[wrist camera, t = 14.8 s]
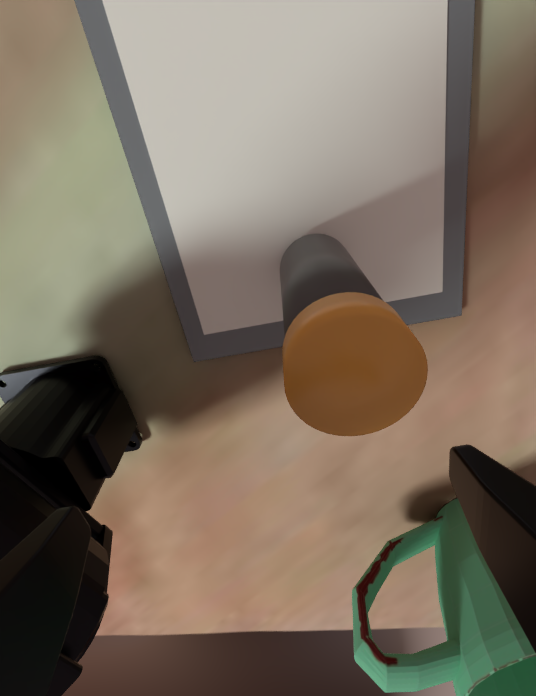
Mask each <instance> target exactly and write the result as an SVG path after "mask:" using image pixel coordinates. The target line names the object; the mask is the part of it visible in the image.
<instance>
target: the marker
mask: <svg viewBox="0 0 536 696" xmlns="http://www.w3.org/2000/svg"><path fill="white" fill-rule="evenodd" d="M280 283H281V296H282V309H283V322H284V335H285V338H284V342H283V350H282V356H283V373H284V387H285V393H286V397H287V400H288V402H289V404H290V406H291V408H292V409H293V411H294V412H295V413H296V415H297V416H298V417H299V418H300V419H301V420H303V421H304V422H305V423H306V424H308V425H309V426H311V427H313V428H315V429H317V430H319V431H322V432H325V433H328V434H333V435H339V436H358V435H365V434H370V433H373V432H376V431H379V430H382V429H384V428H386V427H388V426H390V425H392V424H394V423H395V422H397V421H398V420H400V419H401V418H402V417H403V416H405V415H406V414H407V413H408V412H409V411H410V410H411V409H412V408H413V407H414V405H415V404H416V403H417V401H418V400H419V398H420V396H421V394H422V392H423V390H424V387H425V384H426V380H427V372H428V367H427V359H426V355H425V352H424V350H423V348H422V346H421V344H420V343H419V341H418V340H417V338H416V337H415V336H414V334H413V333H412V332H411V330H410V329H409V328H408V326H407V325H406V324H405V322H404V321H403V320H402V319H401V317H400V316H399V315H398V313H397V312H396V311H395V310H394V309H393V308H392V307H391V306H390V305H388V304H387V303H386V302H384V301H383V299H382V298H381V297H380V295H379V294H378V293H377V291H376V290H375V288H374V287H373V286H372V284H371V283H370V282H369V280H368V279H367V277H366V276H365V275H364V273H363V272H362V271H361V269H360V268H359V266H358V265H357V264H356V262H355V261H354V260H353V258H352V257H351V255H350V254H349V253H348V251H347V250H346V248H345V247H344V246H343V245H342V244H341V243H340V242H339V241H338V240H337V239H335V238H333V237H331V236H329V235H325V234H309V235H305V236H303V237H301V238H299V239H297V240H296V241H294V242H293V243H292V244H291V245H290V246H289V247H288V248H287V249H286V251H285V253H284V254H283V257H282V259H281V263H280Z"/></svg>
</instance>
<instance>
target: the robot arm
mask: <svg viewBox="0 0 536 696" xmlns="http://www.w3.org/2000/svg"><path fill="white" fill-rule="evenodd" d="M94 363H96V364H98V365H99V366H100V368H99V367H96V366H95V365H94ZM2 380H3V381H4V382H5V383H4V382H3V381H2ZM0 397H1V398H2V400H3V401H4V403H5V404H4V405H3V406H2V407H1V408H0V696H61V695H62V694H63V693H64V692H65V691H66V690H67V689H68V688H69V687H70V686H71V684H73V683H74V682H75V680H76V679H77V678H78V677H79V676H80V674H81V672H82V665H81V664H79V663H78V661H79V660H80V659H81V658H82V656H83V655H84V653H85V652H86V650H87V649H88V647H89V645H90V644H91V642H92V641H93V639H94V637H95V635H96V633H97V631H98V629H99V626H100V623H101V621H102V618H103V615H104V612H105V610H106V607H107V604H108V598H109V596H108V594H107V586H108V575H109V565H110V555H111V544H112V534H113V532H112V530H110V529H109V528H108V527H107V526H106V525H101V524H100V523H99V522H98V521H96V520H95V519H94V518H93V517H92V516H90V515H89V514H88V513H87V512H86V511H88V510H90V509H91V507H92V505H93V503H94V501H95V499H96V497H97V495H98V493H99V491H100V489H101V487H102V485H103V483H104V480H105V478H111V477H112V476H113V474H114V473H115V470H116V468H117V466H118V464H119V462H120V460H121V458H122V456H123V453H124V452H128V451H134V450H138V449H139V448H140V446H141V443H142V438H141V436H140V433H139V431H138V429H137V427H136V426H137V422H136V420H135V418H134V415H133V413H132V411H131V409H130V407H129V404H128V402H127V400H126V398H125V395H124V393H123V391H122V390H121V389H120V388H119V387H118V385H117V383H116V380H115V378H114V376H113V374H112V372H111V369H110V367H109V365H108V363H107V361H106V360H105V359H104V358H103V357H101V356H91V357H85V358H80V359H74V360H68V361H63V362H57V363H52V364H46V365H41V366H35V367H29V368H24V369H18V370H13V371H7V372H2V373H0ZM131 441H134V442H135V443H133V442H131ZM449 476H450V480H451V483H452V486H453V488H454V491H455V493H456V495H457V498H458V500H459V503H460V505H461V507H462V510H463V512H464V515H465V517H466V519H467V522H468V524H469V527H470V529H471V531H472V534H473V536H474V539H475V541H476V543H477V545H478V548H479V550H480V552H481V554H482V556H483V558H484V560H485V562H486V563H487V565H488V567H489V569H490V571H491V573H492V574H493V576H494V578H495V580H496V582H497V584H498V585H499V587H500V589H501V591H502V593H503V595H504V596H505V598H506V600H507V602H508V604H509V606H510V607H511V609H512V611H513V613H514V615H515V617H516V618H517V620H518V622H519V624H520V626H521V628H522V629H523V631H524V633H525V635H526V637H527V639H528V640H529V642H530V644H531V646H532V648H533V650H534V652H535V653H536V486H535V485H533V484H532V483H530V482H528V481H527V480H525V479H524V478H522V477H521V476H519V475H517V474H516V473H514V472H513V471H511V470H509V469H508V468H506V467H505V466H503V465H502V464H500V463H498V462H497V461H495V460H494V459H492V458H491V457H489V456H487V455H486V454H484V453H483V452H481V451H479V450H478V449H476V448H475V447H473V446H471V445H461V446H455V447H452V448H451V449H450V459H449Z"/></svg>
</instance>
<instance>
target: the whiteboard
mask: <svg viewBox="0 0 536 696" xmlns="http://www.w3.org/2000/svg"><path fill="white" fill-rule="evenodd" d="M74 1H75V4H76V7H77V10H78V13H79V16H80V19H81V22H82V25H83V28H84V31H85V34H86V37H87V40H88V43H89V46H90V49H91V52H92V55H93V58H94V61H95V64H96V67H97V70H98V73H99V76H100V79H101V83H102V86H103V89H104V92H105V95H106V98H107V101H108V104H109V107H110V110H111V113H112V116H113V119H114V122H115V125H116V128H117V131H118V134H119V137H120V140H121V143H122V146H123V149H124V152H125V155H126V158H127V161H128V164H129V167H130V170H131V173H132V176H133V179H134V182H135V185H136V188H137V191H138V194H139V197H140V200H141V203H142V206H143V210H144V213H145V216H146V219H147V222H148V225H149V228H150V231H151V234H152V237H153V240H154V243H155V246H156V249H157V252H158V255H159V258H160V261H161V264H162V267H163V270H164V273H165V276H166V279H167V282H168V285H169V288H170V291H171V294H172V297H173V300H174V303H175V306H176V309H177V312H178V315H179V318H180V321H181V324H182V327H183V330H184V333H185V336H186V340H187V343H188V346H189V349H190V352H191V355H192V358H193V361H194V362H196V361H202V360H208V359H214V358H220V357H225V356H231V355H237V354H243V353H248V352H254V351H260V350H266V349H271V348H277V347H283V342H284V338H285V335H284V322H283V309H282V296H281V283H280V263H281V259H282V257H283V254H284V253H285V251H286V249H287V248H288V247H289V246H290V245H291V244H292V243H293V242H294V241H296V240H297V239H299V238H301V237H303V236H305V235H309V234H325V235H329V236H331V237H333V238H335V239H337V240H338V241H339V242H340V243H341V244H342V245H343V246H344V247H345V248H346V250H347V251H348V253H349V254H350V255H351V257H352V258H353V260H354V261H355V262H356V264H357V265H358V266H359V268H360V269H361V271H362V272H363V273H364V275H365V276H366V277H367V279H368V280H369V282H370V283H371V284H372V286H373V287H374V288H375V290H376V291H377V293H378V294H379V295H380V297H381V298H382V299H383V301H384V302H386V303H387V304H388V305H390V306H391V307H392V308H393V309H394V310H395V311H396V312H397V313H398V315H399V316H400V317H401V319H402V320H403V321H404V322H405V324H406V325H410V324H415V323H421V322H427V321H433V320H439V319H444V318H450V317H456V316H462V293H463V270H464V246H465V223H466V200H467V177H468V153H469V130H470V107H471V83H472V60H473V37H474V14H475V0H74Z"/></svg>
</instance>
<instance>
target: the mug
mask: <svg viewBox="0 0 536 696" xmlns="http://www.w3.org/2000/svg"><path fill="white" fill-rule="evenodd" d="M434 545H435V558H436V571H437V583H438V595H439V602H440V607H441V612H442V617H443V622H444V627H445V631H446V636H447V641H446V642H444V643H441V644H439V645H436V646H434V647H431V648H428V649H425V650H422V651H419V652H417V653H414V654H383V652H382V651H381V650H380V649H379V647H378V646H377V645H376V644H375V642H374V641H373V639H372V635H371V629H370V624H369V619H368V612H369V609H370V607H371V605H372V603H373V601H374V599H375V597H376V595H377V593H378V591H379V589H380V588H381V586H382V584H383V583H384V581H385V579H386V578H387V576H388V574H389V572H390V571H391V569H392V567H393V566H395V565H397V564H399V563H401V562H403V561H405V560H407V559H408V558H410V557H412V556H414V555H416V554H418V553H420V552H422V551H424V550H426V549H428V548H430V547H432V546H434ZM352 606H353V633H354V658H355V661H356V662H357V664H358V665H359V666H360V667H361V668H362V669H363V670H364V671H365V672H366V673H367V674H368V675H369V676H370V677H371V678H372V679H373V680H374V681H375V682H376V684H377V685H378V686H379V687H380V688H381V689H382V690H383V691H384V692H415V691H419V690H422V689H426V688H428V687H432V686H435V685H438V684H442V683H445V682H448V681H451V680H453V684H454V688H455V693H456V696H536V653H535V652H534V650H533V648H532V646H531V644H530V642H529V640H528V639H527V637H526V635H525V633H524V631H523V629H522V628H521V626H520V624H519V622H518V620H517V618H516V617H515V615H514V613H513V611H512V609H511V607H510V606H509V604H508V602H507V600H506V598H505V596H504V595H503V593H502V591H501V589H500V587H499V585H498V584H497V582H496V580H495V578H494V576H493V574H492V573H491V571H490V569H489V567H488V565H487V563H486V562H485V560H484V558H483V556H482V554H481V552H480V550H479V548H478V545H477V543H476V541H475V539H474V536H473V534H472V531H471V529H470V527H469V524H468V522H467V519H466V517H465V515H464V512H463V510H462V507H461V505H460V503H459V500H458V498H457V499H454V500H452V501H451V502H449V503H448V504H446V505H445V506H444V507H443V508H442V509H441V510H440V511H439V512H438V514H437V516H436V519H434V520H431V521H429V522H427V523H425V524H423V525H421V526H419V527H417V528H415V529H413V530H410V531H408V532H406V533H404V534H402V535H400V536H398V537H396V538H394V539H391V540H389V541H388V542H387V543H386V544H385V546H384V547H383V549H382V550H381V551H380V553H379V554H378V555H377V557H376V558H375V560H374V561H373V562H372V564H371V565H370V566H369V568H368V569H367V571H366V572H365V573H364V575H363V576H362V577H361V579H360V580H359V582H358V583H357V584H356V586H355V587H354V588H353V590H352Z"/></svg>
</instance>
